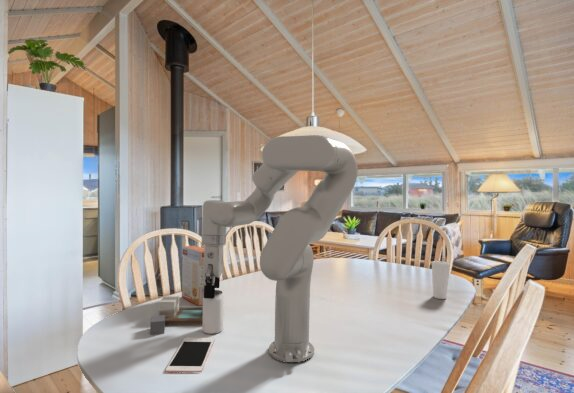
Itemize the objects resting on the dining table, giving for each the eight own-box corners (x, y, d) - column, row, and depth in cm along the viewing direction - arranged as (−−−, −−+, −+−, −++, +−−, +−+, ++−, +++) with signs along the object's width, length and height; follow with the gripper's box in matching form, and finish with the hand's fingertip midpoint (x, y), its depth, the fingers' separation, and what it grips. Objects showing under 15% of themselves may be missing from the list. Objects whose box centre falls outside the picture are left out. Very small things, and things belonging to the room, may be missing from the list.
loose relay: (164, 333, 104) (164, 320, 104) (150, 335, 103) (150, 322, 103) (164, 327, 109) (165, 314, 109) (151, 328, 108) (151, 316, 107)
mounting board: (217, 325, 111) (218, 305, 111) (155, 325, 110) (155, 305, 109) (222, 311, 123) (223, 293, 123) (166, 311, 122) (167, 293, 121)
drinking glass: (430, 298, 142) (431, 263, 142) (431, 294, 148) (432, 260, 147) (448, 301, 139) (449, 265, 138) (448, 296, 145) (450, 261, 144)
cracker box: (212, 303, 131) (213, 249, 130) (198, 306, 127) (198, 251, 126) (194, 294, 141) (195, 244, 141) (181, 297, 137) (181, 246, 136)
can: (202, 335, 103) (203, 296, 103) (201, 327, 109) (202, 290, 109) (224, 333, 105) (224, 295, 104) (222, 325, 111) (222, 288, 111)
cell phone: (214, 340, 101) (214, 337, 101) (201, 374, 83) (201, 370, 83) (184, 340, 100) (184, 337, 100) (164, 374, 82) (164, 370, 82)
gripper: (222, 245, 98) (219, 303, 99) (229, 235, 116) (227, 284, 117) (195, 244, 98) (193, 302, 99) (206, 234, 115) (205, 284, 116)
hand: (211, 292), depth 108 cm, fingers open, 9 cm apart
